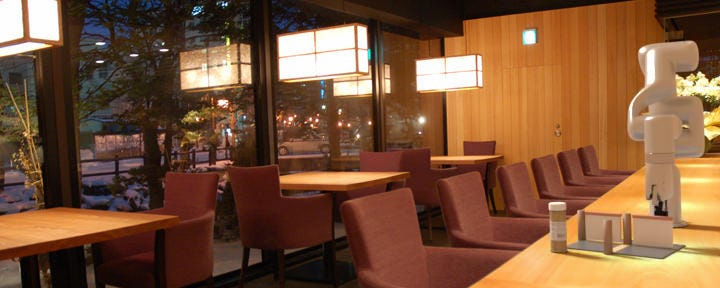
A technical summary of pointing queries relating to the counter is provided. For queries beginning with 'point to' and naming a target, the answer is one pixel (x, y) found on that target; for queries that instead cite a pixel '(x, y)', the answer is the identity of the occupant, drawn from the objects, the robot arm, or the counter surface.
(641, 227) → the fence gate
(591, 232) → the fence fixed
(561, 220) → the sprinkles bottle
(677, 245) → the card
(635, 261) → the counter surface
